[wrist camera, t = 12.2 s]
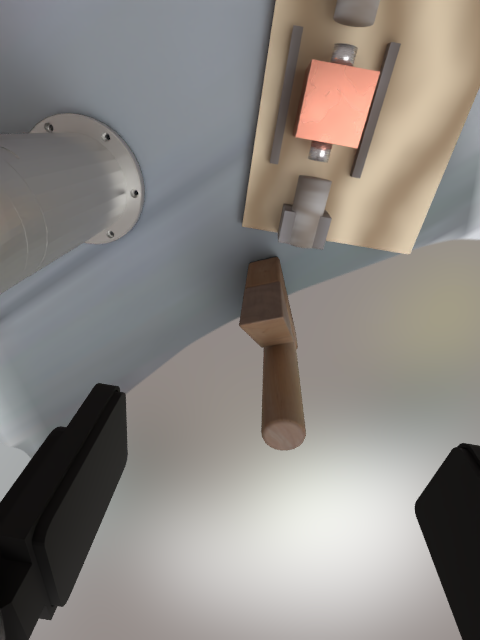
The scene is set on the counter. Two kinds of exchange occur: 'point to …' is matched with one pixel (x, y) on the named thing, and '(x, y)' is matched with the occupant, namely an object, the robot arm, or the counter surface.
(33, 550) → the robot arm
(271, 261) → the brown long handled part
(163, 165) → the counter surface
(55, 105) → the counter surface
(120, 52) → the counter surface
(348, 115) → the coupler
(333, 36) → the jig
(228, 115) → the counter surface
